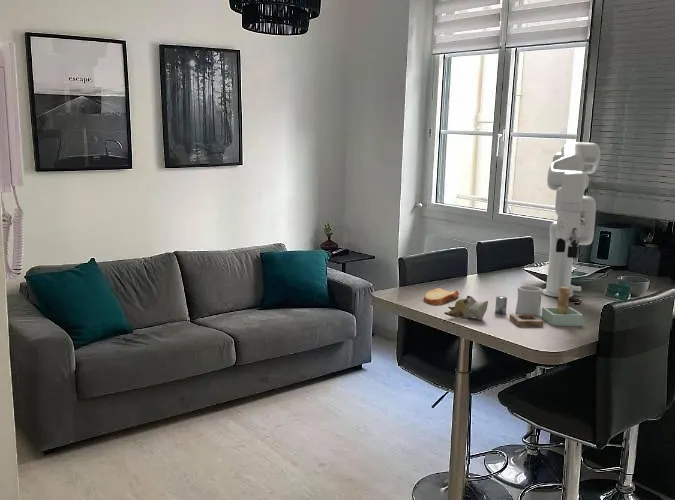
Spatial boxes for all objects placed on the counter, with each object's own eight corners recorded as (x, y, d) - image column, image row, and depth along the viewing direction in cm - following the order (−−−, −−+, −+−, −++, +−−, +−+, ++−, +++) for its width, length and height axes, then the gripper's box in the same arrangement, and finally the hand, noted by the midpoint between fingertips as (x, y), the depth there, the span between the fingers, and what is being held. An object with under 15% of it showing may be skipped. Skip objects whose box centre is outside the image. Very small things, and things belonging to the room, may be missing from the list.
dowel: (564, 318, 242) (567, 286, 239) (568, 321, 238) (571, 289, 236) (554, 318, 241) (557, 286, 239) (558, 321, 238) (561, 289, 236)
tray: (569, 317, 245) (570, 307, 244) (581, 325, 235) (583, 315, 235) (541, 317, 244) (542, 307, 243) (552, 325, 234) (553, 314, 234)
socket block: (533, 319, 241) (533, 314, 241) (542, 326, 232) (543, 321, 232) (509, 319, 240) (509, 314, 240) (518, 326, 232) (518, 321, 231)
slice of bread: (430, 306, 256) (431, 297, 255) (412, 295, 273) (413, 286, 272) (472, 304, 261) (473, 295, 260) (452, 293, 278) (453, 285, 277)
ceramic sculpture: (486, 299, 232) (443, 297, 237) (486, 323, 233) (443, 321, 238) (489, 293, 242) (448, 291, 247) (489, 316, 243) (448, 314, 248)
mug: (543, 317, 244) (545, 291, 242) (518, 316, 244) (520, 290, 242) (534, 309, 256) (536, 284, 254) (511, 308, 256) (513, 283, 255)
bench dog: (503, 311, 251) (505, 296, 250) (507, 314, 247) (508, 298, 246) (493, 311, 251) (494, 296, 249) (496, 314, 247) (498, 298, 246)
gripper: (550, 204, 242) (546, 250, 245) (570, 210, 225) (566, 259, 228) (570, 204, 243) (565, 250, 246) (592, 210, 226) (586, 259, 229)
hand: (565, 254), depth 237 cm, fingers open, 9 cm apart
